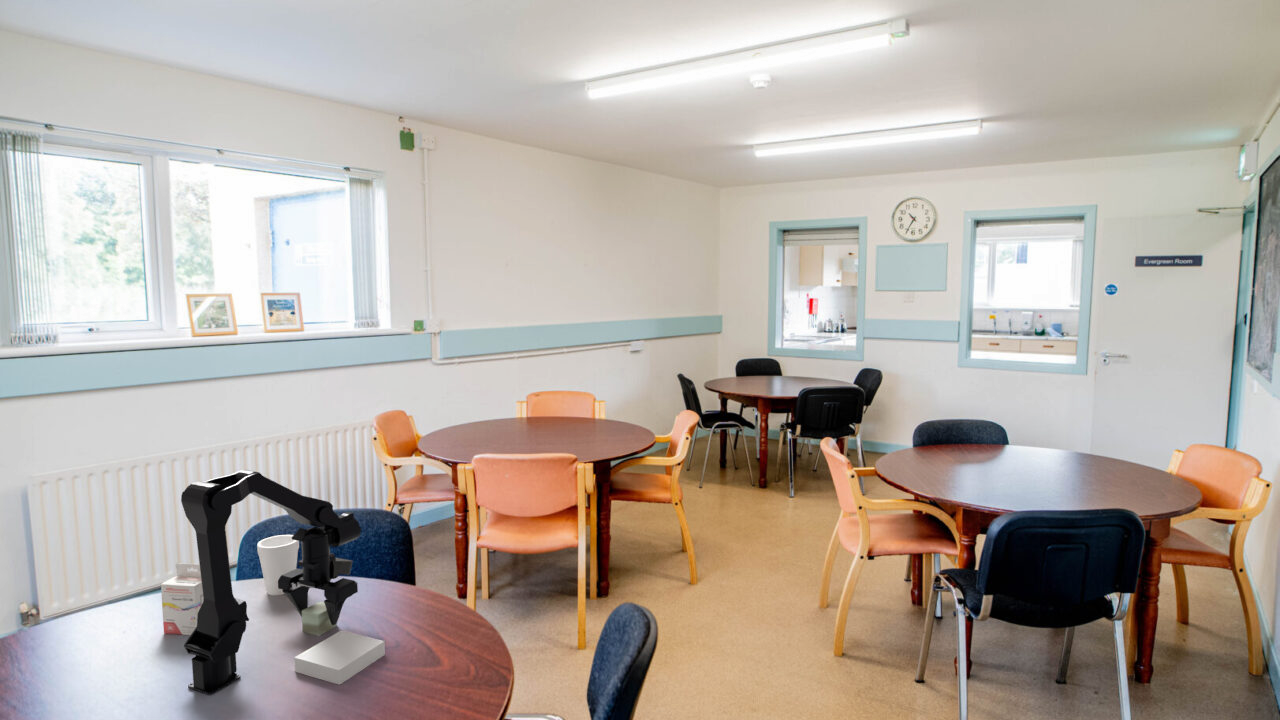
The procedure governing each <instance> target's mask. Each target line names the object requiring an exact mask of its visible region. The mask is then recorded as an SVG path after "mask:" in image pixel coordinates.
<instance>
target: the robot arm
mask: <svg viewBox="0 0 1280 720" xmlns="http://www.w3.org/2000/svg"><path fill="white" fill-rule="evenodd" d="M249 495H253V496H255V497H256V498H259V499H261V500H264V501H266V502H267V503H270V504H272V505H274V506H276V507H279V508H281V509H283V510H284V511H286V513H287V514H288V516H289V517H290V518H292V520H295V521H296V522H297V523H299V524H303V525H308V526H312V527H310V528H302V527H299V528H298V530H297V531H296V532H295V533H294V534H292V535H293V536H292V540H297V541H299V542H301V560H297V566H298V567H302V568H298V567H296V569H295V570H292V571H290V572H288V573H285V574H283V575H281V576H280V578H279V580H278V589H283V590H282V592H283V593H285V594H284V595H286V597H287V598H288V599H289V601H290V602H291V603H292V605H293V606H294V608H295V609H296V611H297V612H298V613H299V616H300V617H301V618H302V610H304V609H306V608H308V607H309V604H308V603H309V598H308V597H309V590H310V588H311V589H317V590H322V591H323V595H324V598H325V599H324V600H323V602H324V603H325V606H326V609H327V613H328V616H329V619H330V622H331V624H332V625H335V624H336V623H337V624H338V621H339V618H340V615H341V611H342V608H343V606H344V603H345V601H346V600H347V599H348V598H350V597H352V596H353V595H355V594H356V593H358V591H359V589H358V588H359V587H358V582H357V581H356V580H354V579H349V578H344V577H343V578H341V579H338V580H336V581H334V582H333V581H332V580H335V579H337V578H338V577H339V575H346V576H349V575H351V571H352V565H353V560H351V559H350V560H349V559H345V558H340V557H336V556H335V553H331V548H330V547H332V548H338V547H340V546H343V545H345V544H347V543H351V542H352V541H355V540H357V539H359V538H360V536H361V533H362V532H361V531H362V528H361V526H360V523H359V522H358V520H357V519H356V518H355V515H354V514H355V513H353V512H349V511H345V512H344V513H342V514H340V515H337V513H336V512H335V511H334V509H333V508H334V505H333V504H332V503H331V502H330V501H327V500H323V499H319V498H315V497H310V496H306V495H303V494H301V493H298V492H296V491H294V490H292V489H290V488H288V487H286V486H284V485H282V484H280V483H278V482H276V481H275V480H272V479H270V478H268V477H266V476H264V475H263V474H262V473H261V472H258V471H254V470H250V469H249V470H247V469H242V470H239V471H236V472H233V473H231V474H228V475H223V476H219V477H216V478H215V477H214V478H210V479H209V480H205V481H202V480H198V481H195V482H192V483H190V484H189V485H188V486H186V488H185V489H184V490H183V491H182V493H181V498H180V502H181V504H182V508H183V511H184V514H185V517H186V518H187V521H189V523H190V524H191V525H192V527H193V529H194V531H195V535H196V536H195V537H196V544H197V545H196V546H197V552H198V553H197V554H198V561H199V563H198V564H199V565H200V572H201V580H202V589H203V597H204V600H203V603H202V605H201V608H200V610H199V612H198V617H197V627H196V628H195V630H194V631H193V633H192V634H191V635H189V637H188V638H187V640H186V641H185V643H184V645H183V648H184V649H185V651H186V653H187V654H188V655H189V654H190V655H194V657H192V658H191V665H192V668H191V669H192V682H190V683H189V684H188V686H187V687H188V689H191V690H195V691H197V692H200V693H202V694H206V695H213V694H214V693H216V692H217V691H219V690H221V689H223V688H225V687H227V686H229V685H230V684H232V683H234V682H235V681H237V680H239V679H241V674H239V673H237V670H238V669H237V653H238V652H239V649H240V645H241V642H242V638H243V634H244V633H245V632H246V629H247V622H249V621H250V618H249V617H248V614H247V612H248V611H247V609H248V605H247V602H246V600H242V599H239V598H235V596H234V594H233V593H234V592H233V585H232V575H231V567H230V558H229V548H228V539H227V531H226V525H227V524H228V521H229V519H230V518H231V517H230V516H231V514H232V510H233V509H232V508H233V505H236V504H237V503H240V502H242V501H243V500H245V499H246V498H247V497H248V496H249Z"/></svg>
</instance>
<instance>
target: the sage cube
mask: <svg viewBox="0 0 1280 720" xmlns="http://www.w3.org/2000/svg"><path fill="white" fill-rule="evenodd" d="M301 621H302V622H301V623H302V633H306V634H311V635H315V636H318V637H319V636H321V635H323V634H325V633H327V632H329V631H331V630H332V629H334V628H336V627H338V626H337V625H338V622H337V623H336V624H335V625H332V624H331V622H330V619H329V616H328V613H327V609H326V606H325V603H324V601H318V602H316V603H314V604H312V605H310V606H308V608H306V609H304V610H302V617H301Z"/></svg>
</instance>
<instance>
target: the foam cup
mask: <svg viewBox="0 0 1280 720" xmlns="http://www.w3.org/2000/svg"><path fill="white" fill-rule="evenodd" d="M293 535H294V534H282V535H281V534H280V535H278V534H277V535H273V536H270V537H267V538H264V539H261V540H260V541H258V542H257V545H256V548H257V555H258V557H259V562H260V567H261V572H262V576H263V581H264V586H265V591H266V594H267V595H268V596H281V595H286V594H285V593H283V592H282V590H283V589H278V580H279V578H280V576H281V575H283V574H285V573H288V572H290V571H292V570H295V569H297V566H298V554H299V553H298V552H299V549H300V541H297V540H292V536H293Z"/></svg>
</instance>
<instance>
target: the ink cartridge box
mask: <svg viewBox="0 0 1280 720" xmlns="http://www.w3.org/2000/svg"><path fill="white" fill-rule="evenodd" d="M191 568H192V569H194V570H195V571H194V570H193V571H192V570H190V569H191ZM175 569H176V574H177V575H176V576H173V577H172V578H170V579H167V580H166V581H164V582H162V583H161V584H160V587H161V589H160V590H161V591H160V592H161V607H162V622H163V623H162V624H163V633H164V634H167V635H182V636H183V635H184V636H191V634H192V633H193V631H194V630H195V628H196V627H197V617H198V612H199V610H200V608H201V605H202V603H203V600H204V597H203V589H202V580H201V572H200V563H197V564H196V563H180V562H179V563H176V564H175ZM188 569H189V570H188ZM196 570H197V571H196Z"/></svg>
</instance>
